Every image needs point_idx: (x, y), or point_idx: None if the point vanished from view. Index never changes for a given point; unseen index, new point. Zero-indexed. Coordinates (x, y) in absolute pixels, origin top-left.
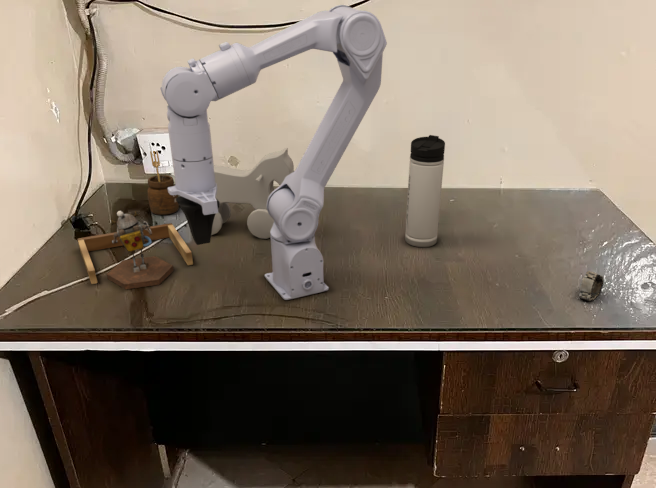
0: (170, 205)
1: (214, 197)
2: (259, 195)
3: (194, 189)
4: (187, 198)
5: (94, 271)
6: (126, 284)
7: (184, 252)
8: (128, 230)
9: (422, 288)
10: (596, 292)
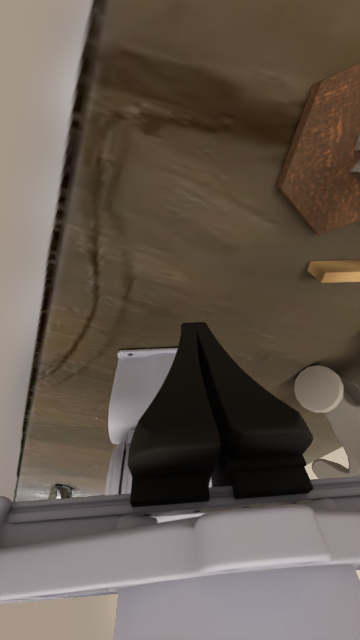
0: None
1: (10, 602)
2: (352, 430)
3: (116, 619)
4: (95, 541)
5: None
6: (318, 89)
7: (336, 270)
8: None
9: (105, 438)
10: (61, 492)
